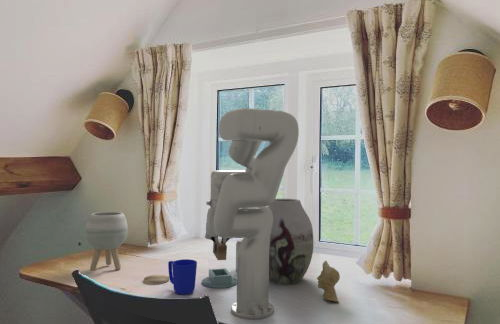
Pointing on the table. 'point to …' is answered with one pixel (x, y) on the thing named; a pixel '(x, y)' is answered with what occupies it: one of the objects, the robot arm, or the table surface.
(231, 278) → the teal candle holder
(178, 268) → the mug
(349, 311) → the table surface
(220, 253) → the block
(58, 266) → the table surface
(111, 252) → the planter
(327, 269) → the tan head bust
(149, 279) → the cork lid
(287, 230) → the vase
